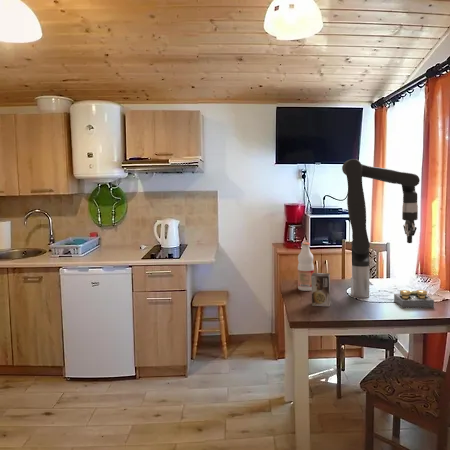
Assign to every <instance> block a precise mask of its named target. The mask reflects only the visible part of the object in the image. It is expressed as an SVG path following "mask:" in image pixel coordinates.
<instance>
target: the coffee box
mask: <svg viewBox="0 0 450 450" xmlns="http://www.w3.org/2000/svg"><path fill="white" fill-rule="evenodd" d="M330 277H331V273H326V272H323V273H322V272H314V273H313V274H312V276H311V282H312V290H311V307H312V306H314V307H317V306H318V307H330V306H331V278H330Z"/></svg>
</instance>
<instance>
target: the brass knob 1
mask: <svg viewBox="0 0 450 450" xmlns="http://www.w3.org/2000/svg"><path fill="white" fill-rule="evenodd" d="M410 291H411V290H406V289H401V290H400V291H399V294H400V295H402V298H409V296H410V295H411V292H410Z"/></svg>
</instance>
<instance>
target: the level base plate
mask: <svg viewBox="0 0 450 450" xmlns="http://www.w3.org/2000/svg"><path fill="white" fill-rule="evenodd" d="M409 291H410V292H411V295H410V296H409V298H402V295H400V293H393V301H394V302H395V304H397V305H398V306H399V307H400V308H401V309H434V307H435V305H434V303H435V299H433V298H432V297H430V296H428V294H427V295H426V296H425V298H418V295H417V294H416V290H409Z"/></svg>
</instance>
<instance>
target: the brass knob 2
mask: <svg viewBox="0 0 450 450" xmlns="http://www.w3.org/2000/svg"><path fill="white" fill-rule="evenodd" d="M415 291H416V294H417V295H418V298H425V296H426V295H427V296H428V291H427V290H423V289H416V290H415Z"/></svg>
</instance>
